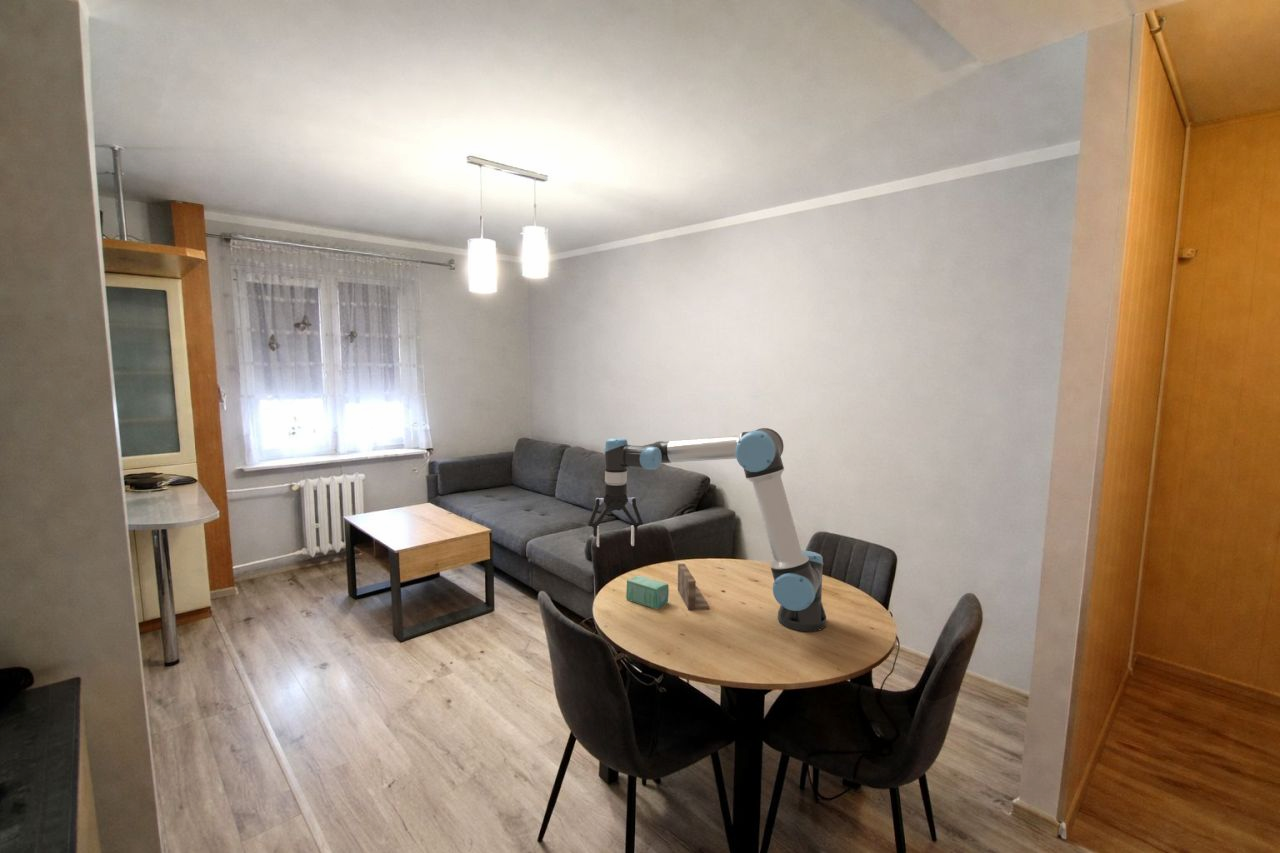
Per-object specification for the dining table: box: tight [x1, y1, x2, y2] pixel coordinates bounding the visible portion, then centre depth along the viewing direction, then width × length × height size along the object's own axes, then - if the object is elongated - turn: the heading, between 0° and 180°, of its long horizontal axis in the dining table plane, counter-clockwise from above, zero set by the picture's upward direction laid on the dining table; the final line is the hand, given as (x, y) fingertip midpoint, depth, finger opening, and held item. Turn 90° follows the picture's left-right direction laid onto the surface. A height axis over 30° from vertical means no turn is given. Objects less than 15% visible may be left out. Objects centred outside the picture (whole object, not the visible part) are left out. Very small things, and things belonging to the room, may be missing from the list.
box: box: [625, 574, 670, 610], centre depth 194 cm, size 7×14×8 cm, turn 52°
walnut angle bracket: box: [677, 563, 710, 611], centre depth 196 cm, size 18×7×10 cm, turn 8°
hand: (615, 545), depth 192 cm, fingers open, 11 cm apart
